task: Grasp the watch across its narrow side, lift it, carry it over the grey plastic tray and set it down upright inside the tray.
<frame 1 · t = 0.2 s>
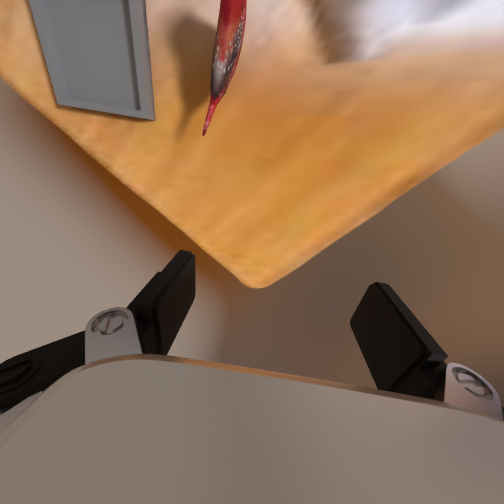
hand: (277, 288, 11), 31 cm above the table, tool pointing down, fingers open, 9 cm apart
tray: (103, 55, 31), on the table
decorative bird figurine: (230, 76, 31), on the table
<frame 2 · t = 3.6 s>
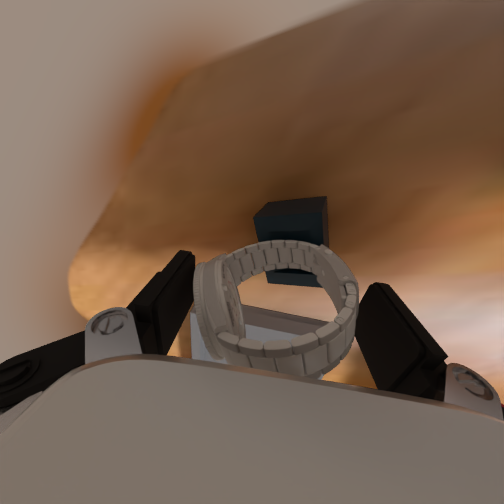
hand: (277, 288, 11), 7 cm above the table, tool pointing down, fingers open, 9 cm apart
tray: (256, 351, 25), on the table
watch: (298, 232, 16), on the table
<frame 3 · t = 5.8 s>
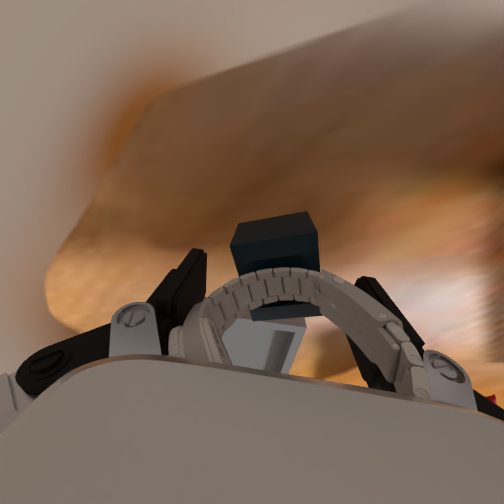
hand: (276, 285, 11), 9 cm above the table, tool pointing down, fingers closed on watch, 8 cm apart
tray: (234, 343, 27), on the table
watch: (277, 254, 14), point 5 cm above the table, touching gripper
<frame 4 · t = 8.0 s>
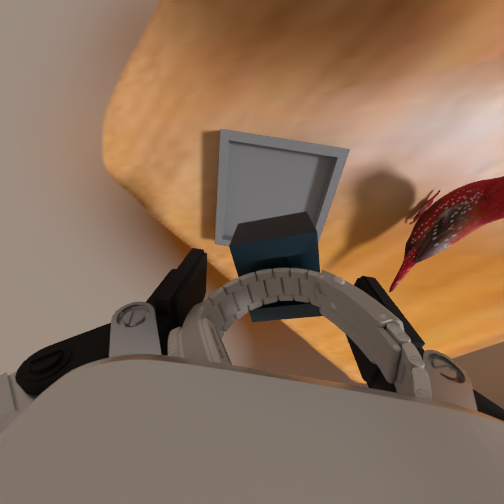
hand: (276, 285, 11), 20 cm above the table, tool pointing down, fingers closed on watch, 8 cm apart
tray: (272, 198, 28), on the table
decorative bird figurine: (409, 220, 28), on the table
watch: (276, 254, 14), point 17 cm above the table, touching gripper
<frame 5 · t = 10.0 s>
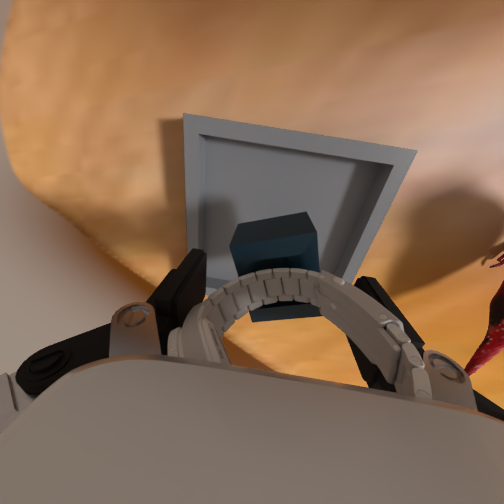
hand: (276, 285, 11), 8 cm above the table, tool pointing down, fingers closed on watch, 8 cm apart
tray: (275, 226, 18), on the table
decorative bird figurine: (489, 261, 18), on the table
watch: (276, 254, 14), point 5 cm above the table, touching gripper
when the fingers open (5 cm above the table, at t = 11.8 s): watch stays where it is, resting on tray.
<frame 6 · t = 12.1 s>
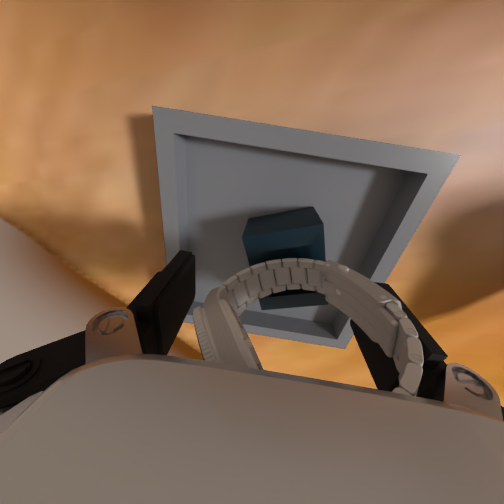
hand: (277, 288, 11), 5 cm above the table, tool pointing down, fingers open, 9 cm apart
tray: (274, 244, 15), on the table
watch: (284, 248, 15), point 1 cm above the table, touching gripper, tray
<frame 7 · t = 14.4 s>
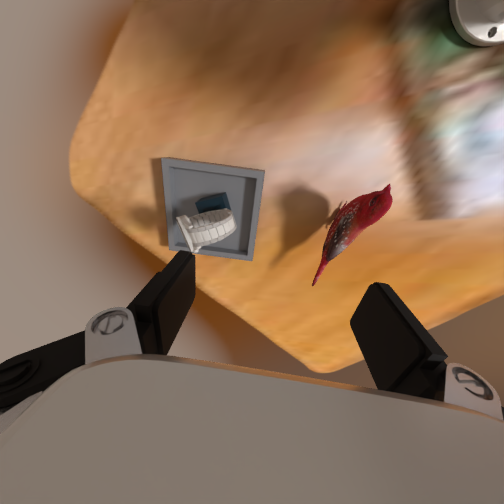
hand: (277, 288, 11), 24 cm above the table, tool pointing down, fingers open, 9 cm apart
tray: (215, 211, 34), on the table
decorative bird figurine: (329, 226, 34), on the table
watch: (218, 211, 33), point 1 cm above the table, touching tray
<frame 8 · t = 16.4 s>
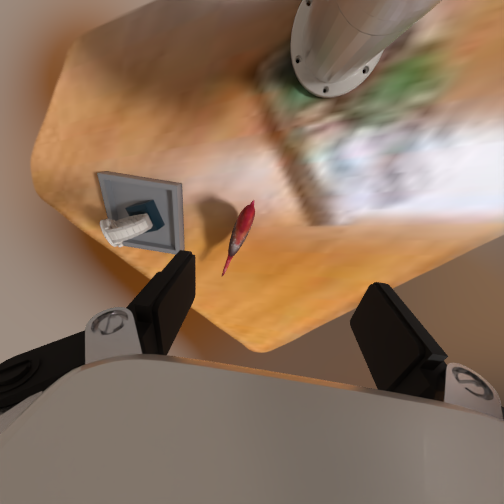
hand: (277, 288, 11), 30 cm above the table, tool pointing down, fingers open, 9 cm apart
tray: (148, 213, 42), on the table
decorative bird figurine: (241, 228, 42), on the table
watch: (150, 214, 41), point 1 cm above the table, touching tray
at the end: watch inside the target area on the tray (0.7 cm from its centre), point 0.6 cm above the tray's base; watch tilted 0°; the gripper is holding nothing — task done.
